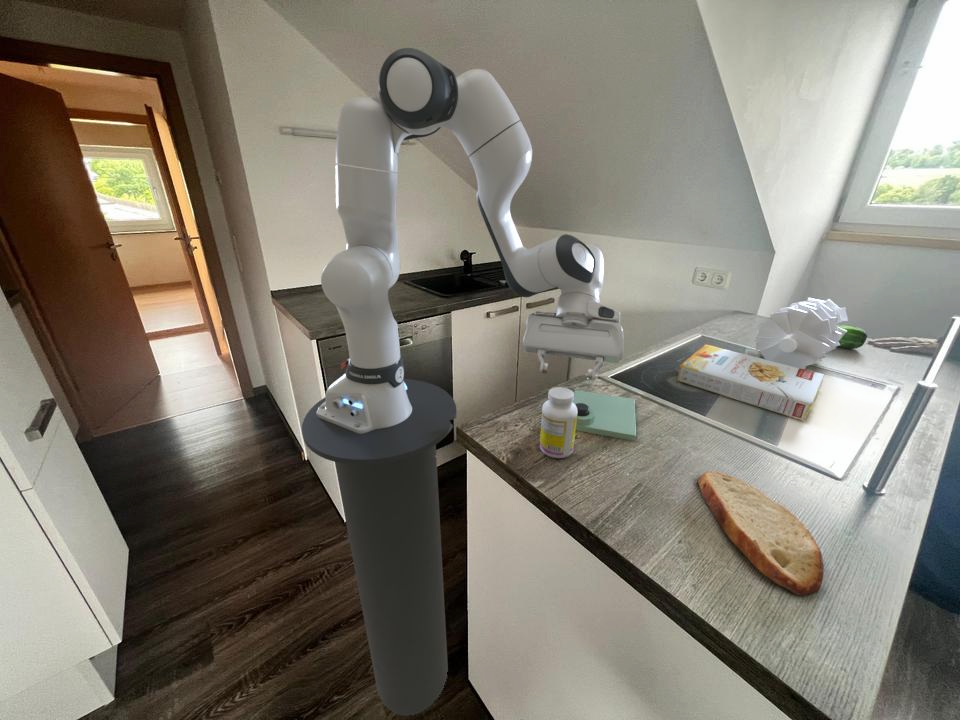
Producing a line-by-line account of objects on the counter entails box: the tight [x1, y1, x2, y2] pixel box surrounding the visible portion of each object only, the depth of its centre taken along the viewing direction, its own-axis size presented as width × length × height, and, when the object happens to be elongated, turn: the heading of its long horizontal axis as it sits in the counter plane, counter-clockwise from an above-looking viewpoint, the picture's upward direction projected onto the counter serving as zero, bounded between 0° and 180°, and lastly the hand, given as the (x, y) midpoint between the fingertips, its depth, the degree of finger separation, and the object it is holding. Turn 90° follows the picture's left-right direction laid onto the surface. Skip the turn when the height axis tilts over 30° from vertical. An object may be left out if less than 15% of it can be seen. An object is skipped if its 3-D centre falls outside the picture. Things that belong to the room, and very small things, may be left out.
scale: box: [573, 389, 637, 442], centre depth 88 cm, size 14×16×3 cm
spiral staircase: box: [754, 297, 849, 370], centre depth 115 cm, size 18×18×25 cm
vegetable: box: [836, 325, 868, 350], centre depth 129 cm, size 7×7×20 cm
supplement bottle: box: [539, 386, 578, 459], centre depth 75 cm, size 7×7×13 cm
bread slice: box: [697, 471, 825, 597], centre depth 59 cm, size 18×18×4 cm
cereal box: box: [677, 343, 825, 422], centre depth 101 cm, size 20×6×28 cm
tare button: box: [575, 403, 589, 416], centre depth 84 cm, size 3×3×2 cm
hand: (566, 375), depth 78 cm, fingers open, 8 cm apart
